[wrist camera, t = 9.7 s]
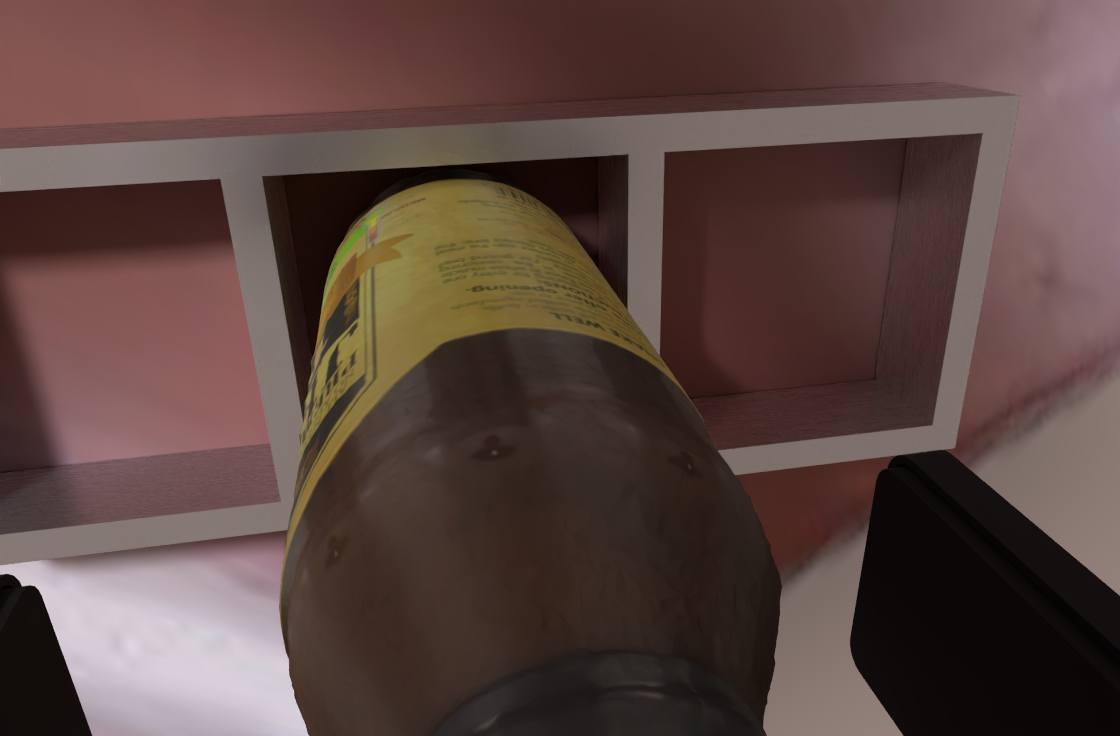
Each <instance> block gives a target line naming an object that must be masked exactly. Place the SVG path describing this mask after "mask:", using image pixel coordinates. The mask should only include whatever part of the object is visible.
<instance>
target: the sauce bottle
mask: <svg viewBox="0 0 1120 736" xmlns="http://www.w3.org/2000/svg"><path fill="white" fill-rule="evenodd" d="M311 368H312V371H311V377H310V380H309V383H308V396H307V398H306V400H305V402H304V405H305V413H304V423H303V426H302V429H301V431H300V434H299V438H300V453H299V461H298V469H297V477H296V485H295V491H294V503H293V507H292V510H291V514H290V520H289V525H288V530H287V535H286V541H285V554H284V562H283V569H282V577H281V587H280V603H279V611H280V620H281V628H282V634H283V639H284V644H285V649H286V653H287V656H288V658H289V675H290V678H291V681H292V687H293V689H294V696H295V699H296V702H297V705H298V707H299V709H300V712H301V714H302V717H303V719H304V722H305V724H306V728H307V732H308V734H309V736H767V735H766V733H765V731H764V729H763V717H764V711H765V707H766V705H767V695H768V692H769V690H770V684H771V681H772V677H773V672H774V667H775V659H774V654H775V648H776V640H777V635H778V624H779V616H780V595H781V589H782V585H781V580H780V574H779V572H778V570H777V568H776V565H775V563H774V560H773V557H772V554H771V549H770V544H769V542H768V540H767V538H766V536H765V533H764V530H763V527H762V525H761V523H760V520H759V518H758V516H757V514H756V512H755V510H754V508H753V506H752V503H751V500H750V496H748V495H747V494H746V492H745V491H744V489H743V487H742V485H741V484H740V482H739V480H738V478H737V476H736V475H735V474H734V473H733V471H732V470H731V468H730V467H729V465H728V464H727V462H726V461H725V460H724V459H723V457H722V456H721V454H720V453H719V452H718V450H717V449H716V448H715V446H714V445H713V443H712V442H711V438H710V435H709V432H708V430H707V428H706V425H705V423H704V421H703V418H702V416H701V415H700V413H699V412H698V410H697V409H696V407H695V406H694V404H693V403H692V401H691V400H690V398H689V397H688V395H687V394H686V392H685V391H684V390H683V388H682V387H681V385H680V384H679V382H678V381H677V380H676V378H675V377H674V375H673V374H672V372H671V371H670V370H669V368H668V367H667V365H666V364H665V363H664V361H663V360H662V358H661V357H660V355H659V354H658V353H657V351H656V350H655V348H654V347H653V345H652V344H651V343H650V341H649V340H648V338H647V337H646V336H645V334H644V333H643V331H642V330H641V329H640V327H639V326H638V324H637V323H636V322H635V320H634V319H633V317H632V316H631V315H630V313H629V312H628V310H627V309H626V308H625V306H624V305H623V303H622V302H621V301H620V299H619V298H618V297H617V295H616V294H615V292H614V291H613V290H612V288H611V287H610V285H609V284H608V282H607V281H606V280H605V278H604V277H603V275H602V274H601V272H600V271H599V270H598V268H597V267H596V265H595V264H594V262H593V261H592V260H591V258H590V257H589V255H588V254H587V253H586V251H585V250H584V248H583V247H582V246H581V244H580V243H579V241H578V240H577V239H576V237H575V236H574V234H573V233H572V231H571V230H570V228H569V227H568V226H567V225H566V224H565V223H564V222H563V220H562V219H561V218H560V217H559V216H558V215H557V214H555V213H554V212H553V211H552V210H551V209H550V208H549V207H547V206H546V205H544V204H543V203H542V202H540V201H539V200H537V199H536V198H535V197H534V196H533V195H532V194H531V192H530V191H529V190H527V189H526V188H524V187H523V186H521V185H520V184H519V183H517V182H516V181H514V180H512V179H510V178H507V177H505V176H504V175H500V174H496V173H488V172H477V171H472V170H468V169H457V168H440V169H434V170H428V171H426V172H423V173H421V174H419V175H417V176H412V177H407V178H404V179H402V180H399V181H398V182H396V183H395V184H393V185H392V186H390V187H389V188H387V189H386V190H384V191H383V192H381V193H380V194H379V195H378V196H377V197H376V198H375V200H374V201H373V203H372V204H371V205H369V206H368V207H367V208H366V209H365V210H364V211H363V212H362V213H361V214H360V215H358V217H357V218H356V219H355V220H354V222H353V223H352V224H351V225H350V226H349V228H348V231H347V233H346V235H345V239H344V240H343V242H342V243H341V245H340V246H339V247H338V249H337V252H336V254H335V256H334V259H333V261H332V264H331V266H330V269H329V273H328V277H327V281H326V285H325V290H324V296H323V303H322V310H321V317H320V324H319V331H318V337H317V343H316V349H315V352H314V355H313V357H312V360H311Z"/></svg>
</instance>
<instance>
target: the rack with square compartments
mask: <svg viewBox="0 0 1120 736" xmlns="http://www.w3.org/2000/svg"><path fill="white" fill-rule="evenodd" d="M1020 97H1021V95H1016V94H1010V93H1004V92H998V91H992V90H985V89H979V88H973V87H967V86H961V85H954V84H948V83H928V84H908V85H888V86H868V87H847V88H827V89H807V90H787V91H766V92H746V93H726V94H706V95H685V96H665V97H645V98H625V99H604V100H584V101H564V102H544V103H524V104H503V105H483V106H463V107H443V108H422V109H402V110H382V111H362V112H341V113H321V114H301V115H281V116H260V117H240V118H220V119H200V120H179V121H159V122H139V123H119V124H99V125H78V126H58V127H38V128H18V129H0V192H8V191H25V190H41V189H58V188H75V187H91V186H108V185H125V184H141V183H158V182H175V181H192V180H208V179H220V180H221V185H222V190H223V196H224V201H225V206H226V212H227V217H228V222H229V228H230V233H231V238H232V244H233V249H234V254H235V260H236V265H237V270H238V276H239V281H240V286H241V291H242V297H243V302H244V307H245V313H246V318H247V323H248V329H249V334H250V339H251V345H252V350H253V355H254V361H255V366H256V371H257V377H258V382H259V387H260V393H261V398H262V403H263V408H264V414H265V419H266V424H267V430H268V435H269V440H270V444H266V445H257V446H248V447H238V448H229V449H220V450H210V451H201V452H192V453H182V454H173V455H164V456H154V457H145V458H136V459H126V460H117V461H108V462H98V463H89V464H80V465H70V466H61V467H52V468H42V469H33V470H23V471H14V472H5V473H0V565H6V564H14V563H22V562H30V561H38V560H47V559H55V558H63V557H71V556H79V555H87V554H96V553H104V552H112V551H120V550H128V549H136V548H145V547H153V546H161V545H169V544H177V543H185V542H194V541H202V540H210V539H218V538H226V537H234V536H243V535H251V534H259V533H267V532H275V531H283V530H288V525H289V520H290V514H291V510H292V507H293V503H294V491H295V485H296V477H297V469H298V461H299V453H300V438H299V434H300V431H301V429H302V426H303V423H304V413H305V405H304V402H305V400H306V398H307V396H308V383H309V380H310V377H311V371H312V368H311V360H312V356H311V349H310V343H309V337H308V330H307V324H306V318H305V311H304V305H303V299H302V292H301V286H300V280H299V273H298V267H297V261H296V254H295V248H294V242H293V235H292V229H291V223H290V216H289V210H288V204H287V197H286V191H285V185H284V178H283V175H292V174H308V173H325V172H342V171H358V170H375V169H392V168H409V167H425V166H442V165H459V164H475V163H492V162H509V161H525V160H542V159H559V158H575V157H592V156H598V220H599V271H600V272H601V274H602V275H603V277H604V278H605V280H606V281H607V282H608V284H609V285H610V287H611V288H612V290H613V291H614V292H615V294H616V295H617V297H618V298H619V299H620V301H621V302H622V303H623V305H624V306H625V308H626V309H627V310H628V312H629V313H630V315H631V316H632V317H633V319H634V320H635V322H636V323H637V324H638V326H639V327H640V329H641V330H642V331H643V333H644V334H645V336H646V337H647V338H648V340H649V341H650V343H651V344H652V345H653V347H654V348H655V350H656V351H657V353H658V354H659V355H660V322H661V280H662V238H663V196H664V153H665V152H676V151H692V150H709V149H726V148H742V147H759V146H776V145H792V144H809V143H826V142H843V141H859V140H876V139H893V138H908V141H907V148H906V155H905V162H904V170H903V177H902V184H901V191H900V199H899V206H898V213H897V221H896V228H895V235H894V242H893V250H892V257H891V264H890V272H889V279H888V286H887V293H886V301H885V308H884V315H883V322H882V330H881V337H880V344H879V352H878V359H877V366H876V373H875V379H874V380H864V381H855V382H846V383H836V384H827V385H818V386H808V387H799V388H790V389H780V390H771V391H762V392H752V393H743V394H734V395H724V396H715V397H706V398H696V399H690V400H691V401H692V403H693V404H694V406H695V407H696V409H697V410H698V412H699V413H700V415H701V416H702V418H703V421H704V423H705V425H706V428H707V430H708V432H709V435H710V438H711V442H712V443H713V445H714V446H715V448H716V449H717V450H718V452H719V453H720V454H721V456H722V457H723V459H724V460H725V461H726V462H727V464H728V465H729V467H730V468H731V470H732V471H733V473H734V474H735V475H741V474H749V473H757V472H765V471H773V470H781V469H790V468H798V467H806V466H814V465H822V464H830V463H839V462H847V461H855V460H863V459H871V458H879V457H888V456H896V455H904V454H911V453H919V452H926V451H934V450H945V449H953V448H955V445H956V440H957V434H958V429H959V424H960V418H961V413H962V408H963V402H964V397H965V392H966V386H967V381H968V375H969V370H970V365H971V359H972V354H973V349H974V343H975V338H976V333H977V327H978V322H979V317H980V311H981V306H982V300H983V295H984V290H985V284H986V279H987V274H988V268H989V263H990V258H991V252H992V247H993V242H994V236H995V231H996V225H997V220H998V215H999V209H1000V204H1001V199H1002V193H1003V188H1004V183H1005V177H1006V172H1007V166H1008V161H1009V156H1010V150H1011V145H1012V140H1013V134H1014V129H1015V124H1016V118H1017V113H1018V108H1019V102H1020Z"/></svg>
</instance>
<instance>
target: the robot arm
mask: <svg viewBox="0 0 1120 736" xmlns="http://www.w3.org/2000/svg"><path fill="white" fill-rule="evenodd" d="M850 647H851V653H852V657H853V660H854V662H855V665H856V667H857V669H858V670H859V672H860V674H861V675H862V676H863V678H864V679H865V681H866V682H867V683H868V685H869V687H870V688H871V689H872V691H873V692H874V694H875V695H876V697H877V698H878V700H879V701H880V702H881V704H882V705H883V707H884V708H885V710H886V711H887V712H888V714H889V715H890V717H891V718H892V720H893V721H894V723H895V724H896V725H897V727H898V728H899V730H900V731H901V732H902V734H903V736H1120V596H1119V595H1118V594H1117V593H1116V592H1114V591H1113V590H1112V589H1111V588H1110V587H1108V586H1107V585H1106V584H1105V583H1104V582H1102V581H1101V580H1100V579H1099V578H1098V577H1097V576H1096V575H1094V574H1093V573H1092V572H1091V571H1090V570H1088V569H1087V568H1086V567H1085V566H1084V565H1082V564H1081V563H1080V562H1079V561H1078V560H1077V559H1075V558H1074V557H1073V556H1072V555H1071V554H1069V553H1068V552H1067V551H1066V550H1065V549H1063V548H1062V547H1061V546H1060V545H1059V544H1057V543H1056V542H1055V541H1054V540H1053V539H1052V538H1050V537H1049V536H1048V535H1047V534H1046V533H1044V532H1043V531H1042V530H1041V529H1039V528H1038V527H1037V526H1036V525H1035V524H1034V523H1032V522H1031V521H1030V520H1029V519H1028V518H1026V517H1025V516H1024V515H1023V514H1022V513H1021V512H1019V511H1018V510H1017V509H1016V508H1015V507H1013V506H1012V505H1011V504H1010V503H1009V502H1008V501H1006V500H1005V499H1004V498H1003V497H1002V496H1000V495H999V494H998V493H997V492H996V491H995V490H993V489H992V488H991V487H990V486H989V485H987V484H986V483H985V482H984V481H983V480H981V479H980V478H979V477H978V476H977V475H976V474H974V473H973V472H972V471H971V470H970V469H968V468H967V467H966V466H965V465H964V464H962V463H961V462H960V461H959V460H958V459H957V458H955V457H954V456H953V455H952V454H950V453H948V452H947V451H944V450H934V451H926V452H919V453H911V454H904V455H898V456H896V457H894V458H893V459H892V460H891V462H890V463H889V465H888V469H884V470H882V471H881V472H880V473H879V475H878V477H877V481H876V486H875V492H874V498H873V504H872V510H871V516H870V522H869V528H868V534H867V540H866V547H865V552H864V558H863V564H862V570H861V576H860V583H859V589H858V595H857V600H856V607H855V613H854V619H853V625H852V631H851V637H850ZM0 736H92V734H91V731H90V728H89V725H88V723H87V720H86V717H85V714H84V712H83V709H82V706H81V703H80V701H79V698H78V695H77V692H76V689H75V687H74V684H73V681H72V678H71V676H70V673H69V670H68V667H67V665H66V662H65V659H64V656H63V654H62V651H61V648H60V645H59V642H58V640H57V637H56V634H55V631H54V629H53V626H52V623H51V620H50V618H49V615H48V612H47V609H46V607H45V604H44V601H43V598H42V596H41V594H40V592H39V590H38V589H37V588H36V587H35V586H31V585H30V586H23V587H22V586H21V584H20V582H19V580H18V579H17V578H16V577H15V576H13V575H9V574H4V575H0Z"/></svg>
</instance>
